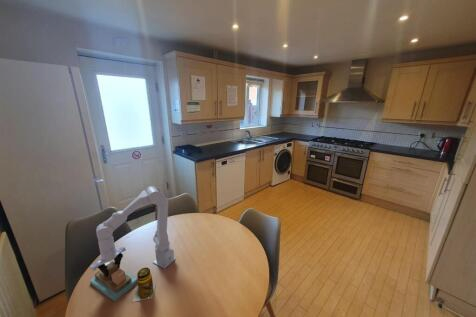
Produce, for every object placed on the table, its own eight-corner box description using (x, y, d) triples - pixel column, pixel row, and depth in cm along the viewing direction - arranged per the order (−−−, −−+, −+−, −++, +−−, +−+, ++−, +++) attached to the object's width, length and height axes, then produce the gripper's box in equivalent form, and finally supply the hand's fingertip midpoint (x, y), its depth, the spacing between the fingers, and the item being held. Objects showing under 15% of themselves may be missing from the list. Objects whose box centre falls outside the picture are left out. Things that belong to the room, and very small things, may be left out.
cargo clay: (126, 278, 90) (124, 271, 89) (117, 285, 86) (116, 277, 85) (120, 275, 92) (119, 268, 91) (112, 281, 88) (111, 274, 87)
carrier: (131, 281, 91) (129, 267, 89) (117, 293, 85) (114, 278, 83) (110, 267, 99) (107, 254, 97) (95, 277, 93) (92, 263, 91)
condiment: (152, 298, 85) (149, 276, 82) (132, 302, 83) (128, 280, 80) (155, 284, 92) (153, 263, 89) (137, 287, 90) (133, 266, 87)
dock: (137, 282, 93) (137, 279, 92) (114, 301, 83) (113, 298, 83) (113, 267, 101) (113, 264, 101) (90, 283, 92) (89, 280, 92)
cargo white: (112, 270, 95) (111, 263, 94) (104, 276, 91) (102, 269, 90) (108, 267, 96) (107, 260, 96) (99, 272, 93) (98, 266, 92)
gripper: (118, 236, 96) (121, 259, 99) (84, 255, 83) (90, 280, 86) (126, 240, 92) (130, 263, 96) (93, 260, 80) (99, 286, 83)
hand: (112, 272), depth 91 cm, fingers open, 5 cm apart
